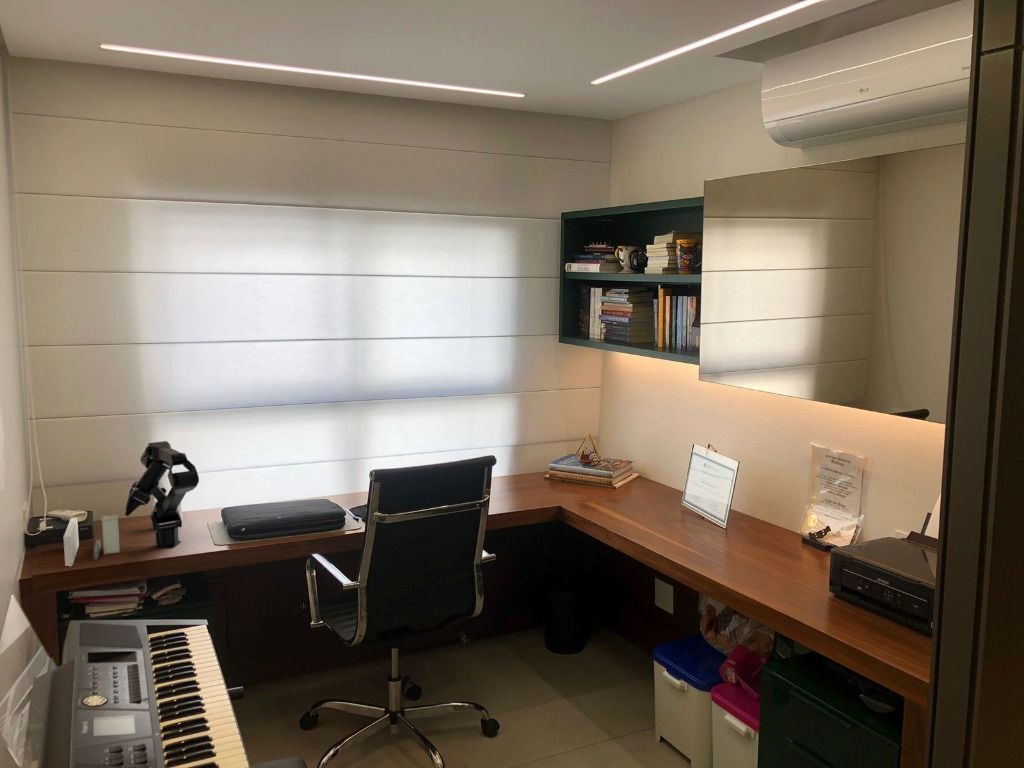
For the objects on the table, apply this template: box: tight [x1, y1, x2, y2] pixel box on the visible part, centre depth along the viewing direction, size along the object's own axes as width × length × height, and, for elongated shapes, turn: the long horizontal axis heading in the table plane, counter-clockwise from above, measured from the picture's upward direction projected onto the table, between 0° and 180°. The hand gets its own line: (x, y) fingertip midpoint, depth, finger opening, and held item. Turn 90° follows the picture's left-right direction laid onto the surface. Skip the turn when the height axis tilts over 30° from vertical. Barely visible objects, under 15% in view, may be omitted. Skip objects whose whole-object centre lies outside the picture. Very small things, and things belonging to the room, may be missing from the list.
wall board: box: [63, 517, 102, 567], centre depth 280 cm, size 9×24×10 cm, turn 23°
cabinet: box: [101, 514, 120, 555], centre depth 283 cm, size 5×5×12 cm
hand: (126, 512), depth 290 cm, fingers open, 9 cm apart
